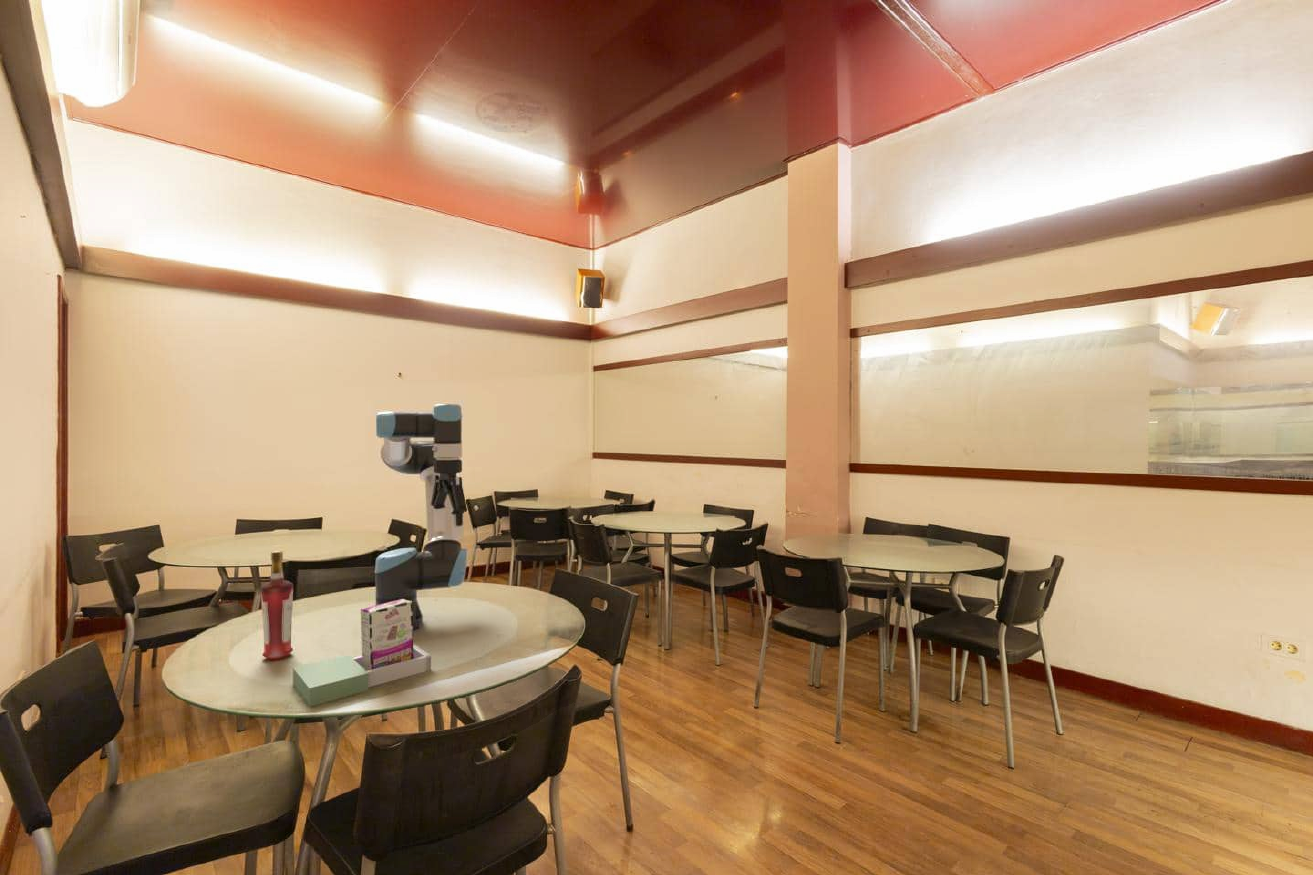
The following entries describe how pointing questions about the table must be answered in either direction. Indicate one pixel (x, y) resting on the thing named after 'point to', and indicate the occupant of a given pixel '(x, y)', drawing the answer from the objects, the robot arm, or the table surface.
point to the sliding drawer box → (351, 676)
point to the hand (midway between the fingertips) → (448, 534)
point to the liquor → (277, 611)
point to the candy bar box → (387, 634)
